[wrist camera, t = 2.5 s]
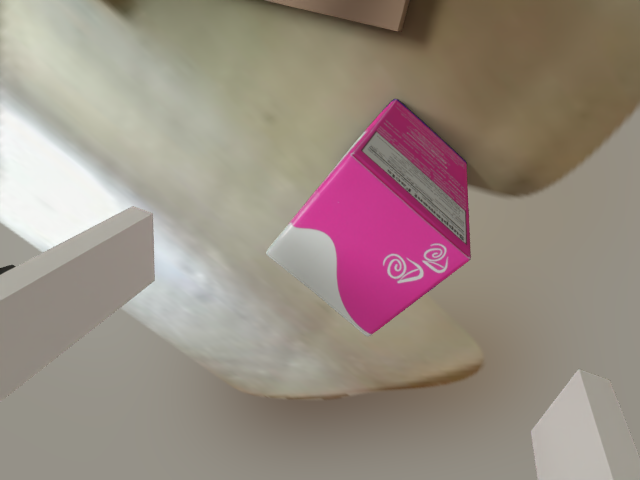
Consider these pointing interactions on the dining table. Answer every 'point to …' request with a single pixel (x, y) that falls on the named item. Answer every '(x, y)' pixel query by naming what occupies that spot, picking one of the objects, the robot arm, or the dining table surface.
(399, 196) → the supplement box
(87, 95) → the dining table surface
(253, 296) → the dining table surface
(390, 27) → the walnut board
